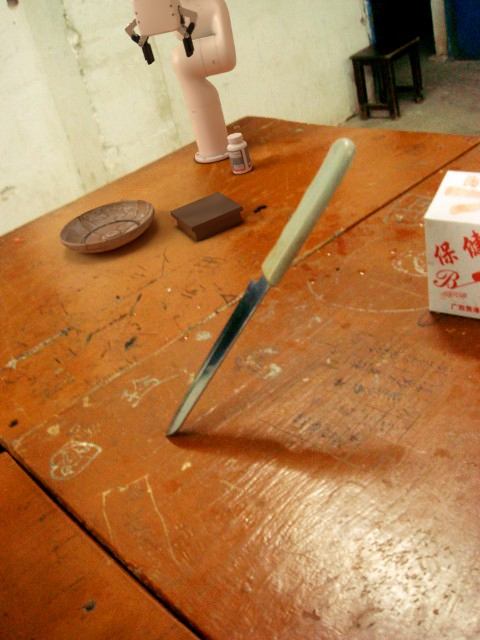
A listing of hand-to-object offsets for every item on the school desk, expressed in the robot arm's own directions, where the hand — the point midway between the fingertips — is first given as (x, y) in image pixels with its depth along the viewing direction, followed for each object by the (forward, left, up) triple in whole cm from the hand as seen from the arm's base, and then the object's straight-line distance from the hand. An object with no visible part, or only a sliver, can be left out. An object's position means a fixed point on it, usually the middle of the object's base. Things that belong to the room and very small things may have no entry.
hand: (170, 59), depth 146 cm
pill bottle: (-6, +14, -34) cm, 37 cm away
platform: (+17, -7, -34) cm, 38 cm away
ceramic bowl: (+3, -27, -34) cm, 44 cm away
